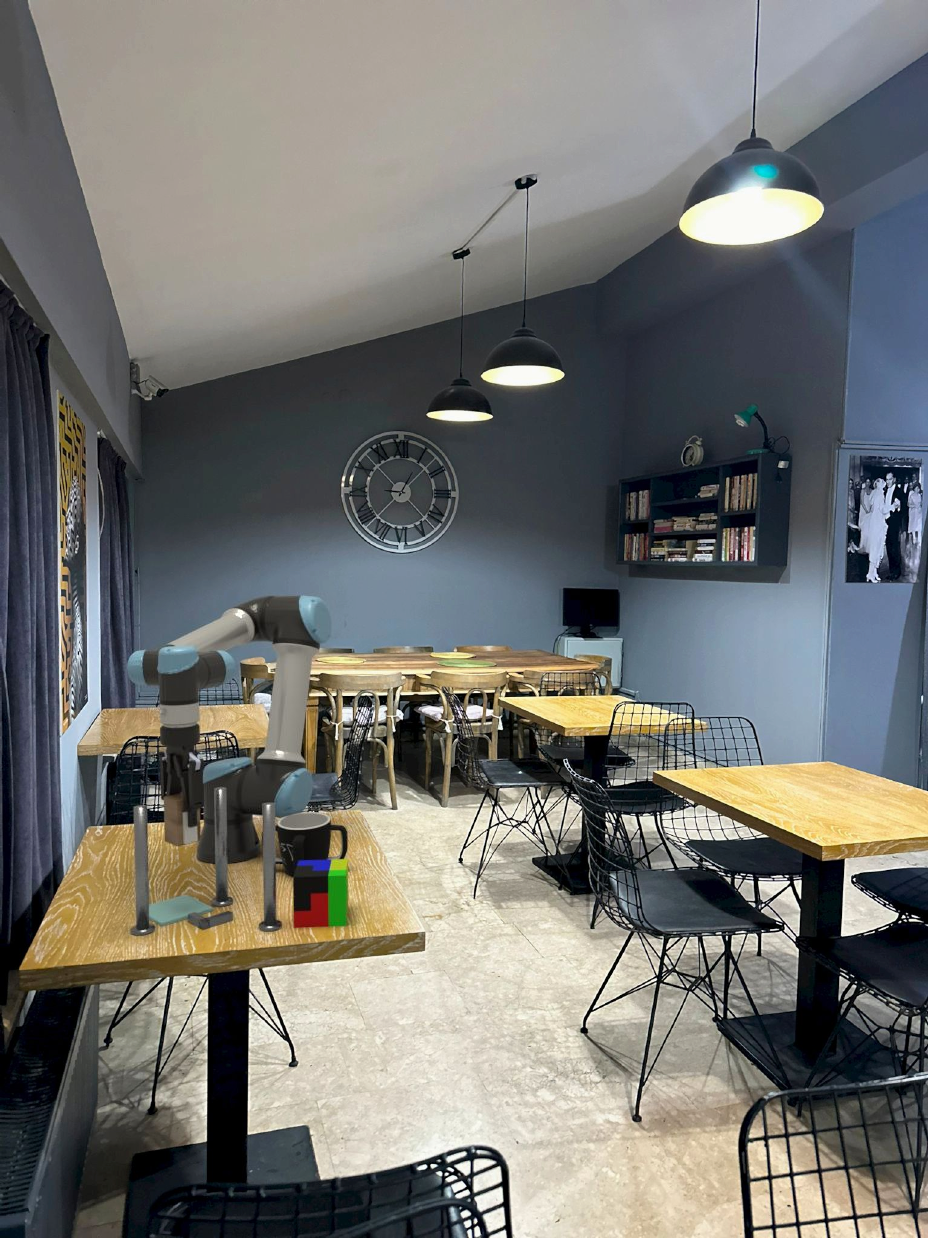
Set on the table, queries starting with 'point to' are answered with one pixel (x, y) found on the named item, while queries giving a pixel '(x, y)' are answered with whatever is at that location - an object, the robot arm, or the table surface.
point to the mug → (306, 839)
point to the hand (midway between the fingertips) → (183, 839)
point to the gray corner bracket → (209, 919)
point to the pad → (176, 909)
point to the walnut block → (176, 819)
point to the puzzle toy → (320, 893)
